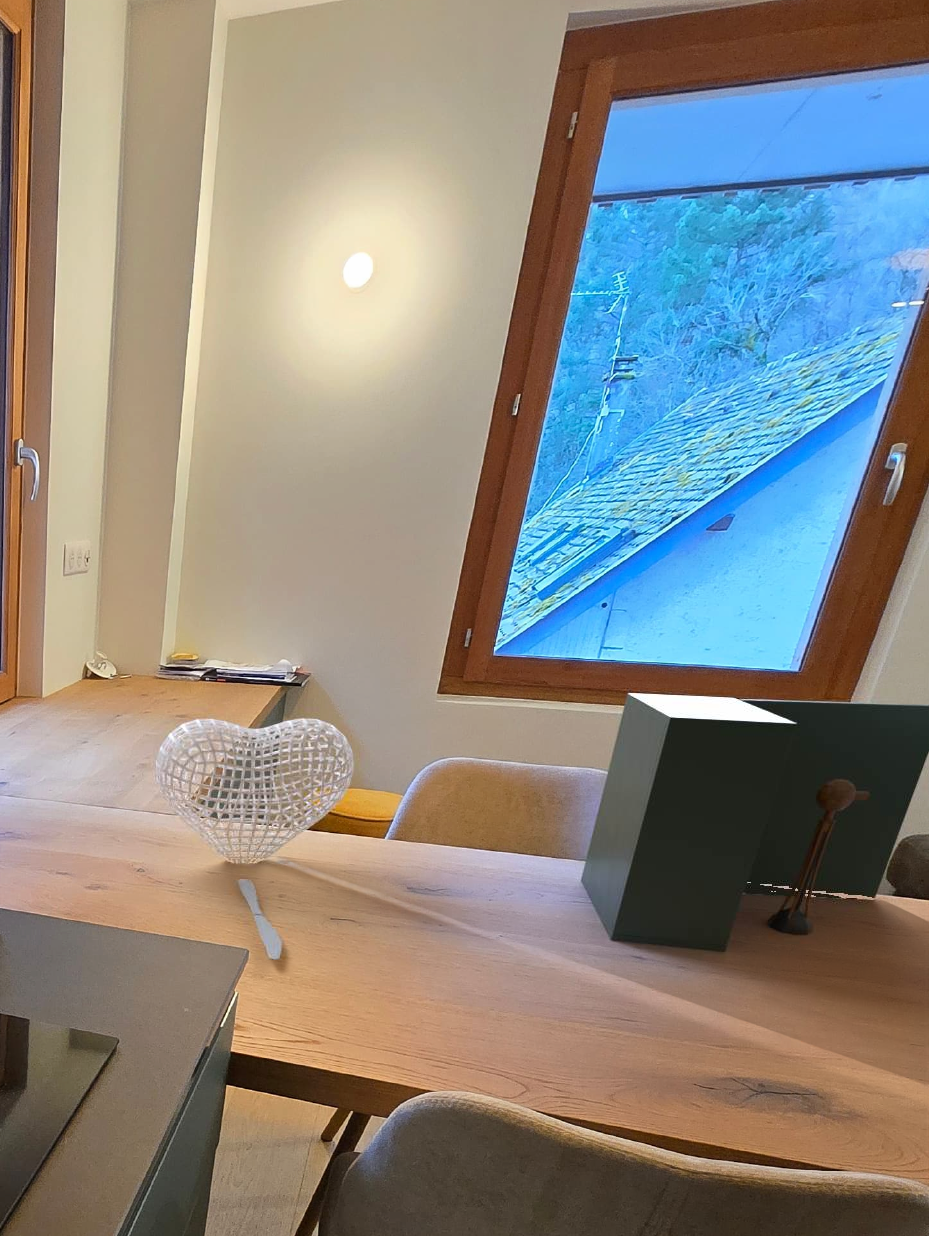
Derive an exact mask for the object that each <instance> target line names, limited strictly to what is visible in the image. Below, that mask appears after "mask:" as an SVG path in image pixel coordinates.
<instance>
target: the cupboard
mask: <svg viewBox="0 0 929 1236" xmlns="http://www.w3.org/2000/svg"><path fill="white" fill-rule="evenodd" d="M619 722H620V723H619V725H618V730H617V734H616V737H615V742H614V747H613V750H612V754H611V758H610V761H609V767H608V770H607V774H606V777H605V783H604V786H603V790H602V794H601V797H600V802H599V806H598V810H597V815H596V818H595V822H594V826H593V831H592V835H591V838H590V842H589V846H588V850H587V854H586V859H585V862H584V866H583V871H582V874H581V877H580V881H581V883H582V886H583V888H584V890H585V892H586V894H587V896H588V897H589V900H590V902H591V904H592V906H593V908H594V910H595V912H596V914H597V916H598V918H599V920H600V922H601V924H602V926H603V928H604V930H605V932H606V935H607V936H608V938H609V940H610V941H611V942H622V943H630V944H640V945H650V946H659V947H668V948H678V949H687V950H695V951H696V950H697V951H706V952H715V953H723V954H724V953H726V949H727V946H728V943H729V940H730V937H731V935H732V931H733V927H734V924H735V921H736V918H737V915H738V912H739V909H740V906H741V902H742V899H743V896H744V894H743V893H744V890H745V887H746V884H747V880H748V877H749V874H750V871H751V868H752V865H753V861H754V858H755V855H756V852H757V849H758V846H759V842H760V839H761V836H762V833H763V830H764V827H765V823H766V820H767V817H768V814H769V811H770V808H771V804H772V801H773V798H774V795H775V792H776V789H777V785H778V782H779V779H780V776H781V773H782V770H783V766H784V763H785V760H786V757H787V754H788V751H789V747H790V744H791V741H792V738H793V734H794V732H795V729H796V725H797V723H794V722H792V721H789V720H787V719H785V718H782V717H780V716H777V715H775V714H772V713H770V712H767V711H765V710H762V709H760V708H757V707H755V706H752V705H750V704H748V703H745V702H743V701H740V700H739V699H737V698H735V697H724V696H722V697H719V696H699V695H698V696H697V695H677V694H654V693H634V692H633V693H632V692H631V693H630V692H628V693H627V694H626V698H625V703H624V706H623V710H622V714H621V718H620V721H619Z"/></svg>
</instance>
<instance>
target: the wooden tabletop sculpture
mask: <svg viewBox="0 0 929 1236" xmlns="http://www.w3.org/2000/svg"><path fill="white" fill-rule="evenodd" d="M869 795H870V794H869V792H868V791H856V789H855V786H854V785H853V784H852V783H851V782H850V781H849V780H844V779H834V780H831V781H829V782H827V783H825V784H824V785H823V786H822V787H821V788H820V789H819V790H818V792H817V794H816V803H817V804H818V806H819V807H820V808H821V809H824V810H826V812H825V815H824V818H819V821H818V824H817V827H816V830H815V833H814V835H813V838H812V841H811V844H810V847H809V849H808V852H807V855H806V857H805V860H804V863H803V865H802V868H801V870H800V872H799V874H798V877H797V879H796V881H795V883H794V885H793V887H792V889H791V891H790V893H789V895H788V896H786V898H785V900H784V901H783V903H782V904H781V906H780V908H778V909H779V910H778V911H777V912H776V913H774V914H772V915H771V916H770V917H769V918H768V919H767V920H766V922H765V923H764V924H765V925H766V926H767V927H768V928H769V929H771V930H773V931H776V932H778V933H782V934H788V935H792V936H809V935H810V934H812V933H813V930H814V928H813V922H812V921H811V919H810V917H809V912H810V904H811V898H812V897H811V894H812V889H813V885H814V881H815V877H816V874H817V870H818V867H819V864H820V861H821V858H822V855H823V852H824V850H825V847H826V844H827V841H828V838H829V836H830V833H831V830H832V827H833V825H834V822H836V820H835V819H832V818H833V815H834V812H835V811H839V810H843V809H844V808H846V807H847V806H849V805H850V803H851V802H852V801H853V800H867V799H868V798H869ZM816 837H817V838H816ZM815 840H816V841H815ZM811 851H812V852H811ZM810 854H811V855H810ZM808 859H809V860H808ZM807 862H808V863H807ZM806 864H807V866H806ZM805 867H806V869H805ZM804 869H805V871H804ZM803 872H804V874H803ZM812 873H813V875H812ZM802 874H803V877H802V880H801V883H800V886H799V888H798V891H797V894H796V897H794V900H793V902H792V905H791V907H788V908H786V907H787V905H788V902H789V901H790V900H791V898H792V895H793V893H794V891H795V889H796V887H797V885H798V883H799V881H800V878H801V876H802ZM811 876H812V879H811ZM810 879H811V882H810ZM809 882H810V886H809V891H808V896H807V897H806V902H805V909H804V911H803V910H802V909H801V907H802V904H803V901H804V898H805V897H804V896H805V893H806V890H807V887H808V885H809Z"/></svg>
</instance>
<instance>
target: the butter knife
mask: <svg viewBox="0 0 929 1236" xmlns="http://www.w3.org/2000/svg"><path fill="white" fill-rule="evenodd" d="M237 883H238V887H239V889H240V892H241V893H242V895H243V897H244V898H245V900H246V902H247V904H248V906H249V908H250V910H251V912H252V915H253V918H254V921H255V924H256V927H257V930H258V934H259V936H260V938H261V942H262V943H263V946H264V948H265V951H266V953H267V956H268V958H269V959H271V960H275V961H276V960H277V961H278V960H279V959H280V958H281V957H280V956H281V954H282V949H283V942H282V939H281V937H280V936H279V934H278V932H277V930H276V928H275V927H274V926H273V925H272V924H271V923H270V922H269V920H267V918H266V917H265V915H264V914H263V912H262V910H261V909H260V904H259V902H258V901H259V900H258V894H256V893H257V889H256V886H255V885H254V883H253V881H251V880H250V879H248V878H241V879H238V880H237ZM255 889H256V890H255ZM257 900H258V901H257Z"/></svg>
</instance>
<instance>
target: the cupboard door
mask: <svg viewBox="0 0 929 1236" xmlns="http://www.w3.org/2000/svg"><path fill="white" fill-rule="evenodd" d="M738 700H740V701H743V702H745V703H748V704H750V705H752V706H755V707H757V708H760V709H762V710H765V711H767V712H770V713H772V714H775V715H777V716H780V717H782V718H785V719H787V720H789V721H792V722H794V723H797V725H796V729H795V732H794V734H793V738H792V741H791V744H790V747H789V751H788V754H787V757H786V760H785V763H784V766H783V770H782V773H781V776H780V779H779V782H778V785H777V789H776V792H775V795H774V798H773V801H772V804H771V808H770V811H769V814H768V817H767V820H766V823H765V827H764V830H763V833H762V836H761V839H760V842H759V846H758V849H757V852H756V855H755V858H754V861H753V865H752V868H751V871H750V874H749V877H748V880H747V882H751V883H747V884H746V887H745V890H744V893H747V894H746V895H754V894H763V895H762V896H775V897H788V895H789V893H790V891H791V889H784V888H778V887H773V886H789V888H792V887H793V885H794V883H795V881H796V879H797V877H798V874H799V872H800V870H801V868H802V865H803V863H804V860H805V857H806V855H807V852H808V849H809V847H810V844H811V841H812V838H813V835H814V833H815V830H816V827H817V824H818V821H819V818H824V815H825V812H826V810H824V809H821V808H820V807H819V806H818V804H817V803H816V794H817V792H818V790H819V789H820V788H821V787H822V786H823V785H824V784H825V783H827V782H829V781H831V780H834V779H844V780H849V781H850V782H851V783H852V784H853V785H854V786H855V789H856V791H868V792H869V794H870V795H869V798H868V799H867V800H853V801H852V802H851V803H850V805H849V806H847V807H846V808H844V809H843V810H839V811H835V812H834V815H833V818H832V819H835V820H836V822H834V825H833V827H832V830H831V833H830V836H829V838H828V841H827V844H826V847H825V850H824V852H823V855H822V858H821V861H820V864H819V867H818V870H817V874H816V877H815V881H814V885H813V889H812V891H826V893H844V894H848V895H862V896H867V897H872V898H875V899H876V896H877V894H878V891H879V889H880V886H881V883H882V881H883V878H884V875H885V872H886V869H887V867H888V864H889V861H890V858H891V856H892V853H893V851H894V848H895V845H896V842H897V839H898V837H899V834H900V832H901V828H902V826H903V823H904V822H905V821H904V820H905V818H906V816H907V812H908V810H909V807H910V804H911V802H912V799H913V796H914V793H915V792H916V791H915V790H916V788H917V786H918V783H919V780H920V777H921V775H922V771H923V769H924V766H925V763H926V761H927V758H928V757H929V704H915V703H914V704H911V703H909V704H908V703H881V702H880V703H879V702H848V701H819V700H818V701H815V700H788V699H787V700H786V699H785V700H784V699H783V700H781V699H753V698H752V699H749V698H747V699H746V698H739V699H738ZM816 838H817V837H816ZM815 841H816V840H815ZM811 852H812V851H811ZM810 855H811V854H810ZM808 860H809V859H808ZM807 863H808V862H807ZM806 866H807V864H806ZM805 869H806V867H805ZM805 869H804V871H805ZM803 874H804V872H803ZM803 874H802V876H801V878H800V881H799V883H798V885H797V887H796V888H797V889H798V888H799V886H800V883H801V880H802V877H803ZM812 875H813V873H812ZM811 879H812V876H811ZM811 879H810V882H811ZM810 882H809V885H808V887H807V890H809V886H810ZM760 884H772V886H764V885H760ZM771 891H773V892H771ZM774 891H776V892H774ZM748 893H749V894H748ZM796 894H797V891H794V893H793V895H792V896H791V898H792V897H793V898H795V897H796ZM805 894H808V893H805ZM811 895H814V896H816V897H826V898H825V899H831V898H841V897H839V896H834V895H829V894H821V893H812V894H811ZM855 899H857V898H846V899H845V900H855ZM855 901H856V900H855Z"/></svg>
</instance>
